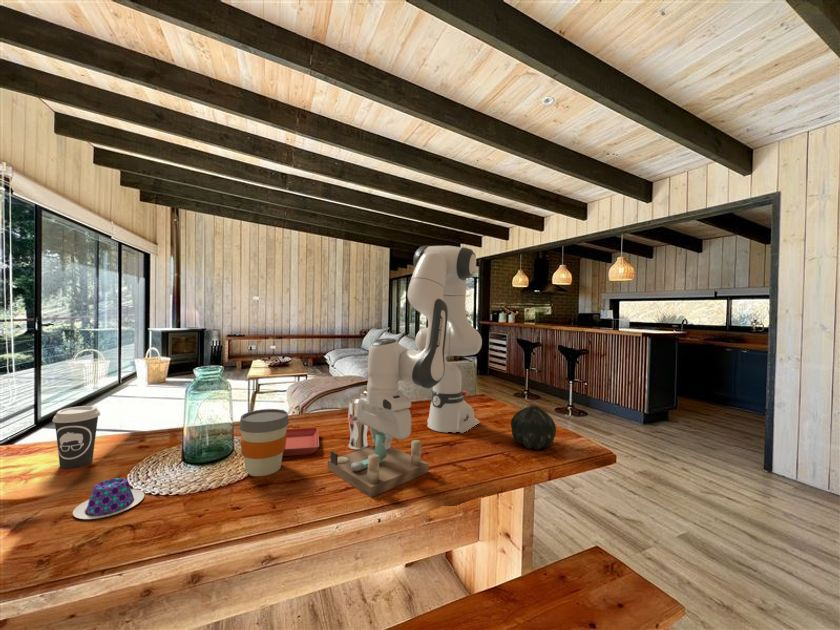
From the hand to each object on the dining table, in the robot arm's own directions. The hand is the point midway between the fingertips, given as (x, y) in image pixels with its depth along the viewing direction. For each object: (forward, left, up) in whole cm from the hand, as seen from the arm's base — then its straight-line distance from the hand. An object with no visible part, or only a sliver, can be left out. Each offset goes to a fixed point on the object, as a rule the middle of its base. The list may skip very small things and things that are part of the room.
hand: (381, 445), depth 99 cm
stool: (+1, 0, -7) cm, 7 cm away
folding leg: (+4, 0, -4) cm, 6 cm away
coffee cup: (+61, -58, -7) cm, 84 cm away
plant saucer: (+12, -33, -8) cm, 35 cm away
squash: (-51, +20, -7) cm, 56 cm away
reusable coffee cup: (+24, -22, -7) cm, 33 cm away
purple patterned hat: (+56, -26, -8) cm, 62 cm away
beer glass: (-5, -18, -7) cm, 21 cm away
